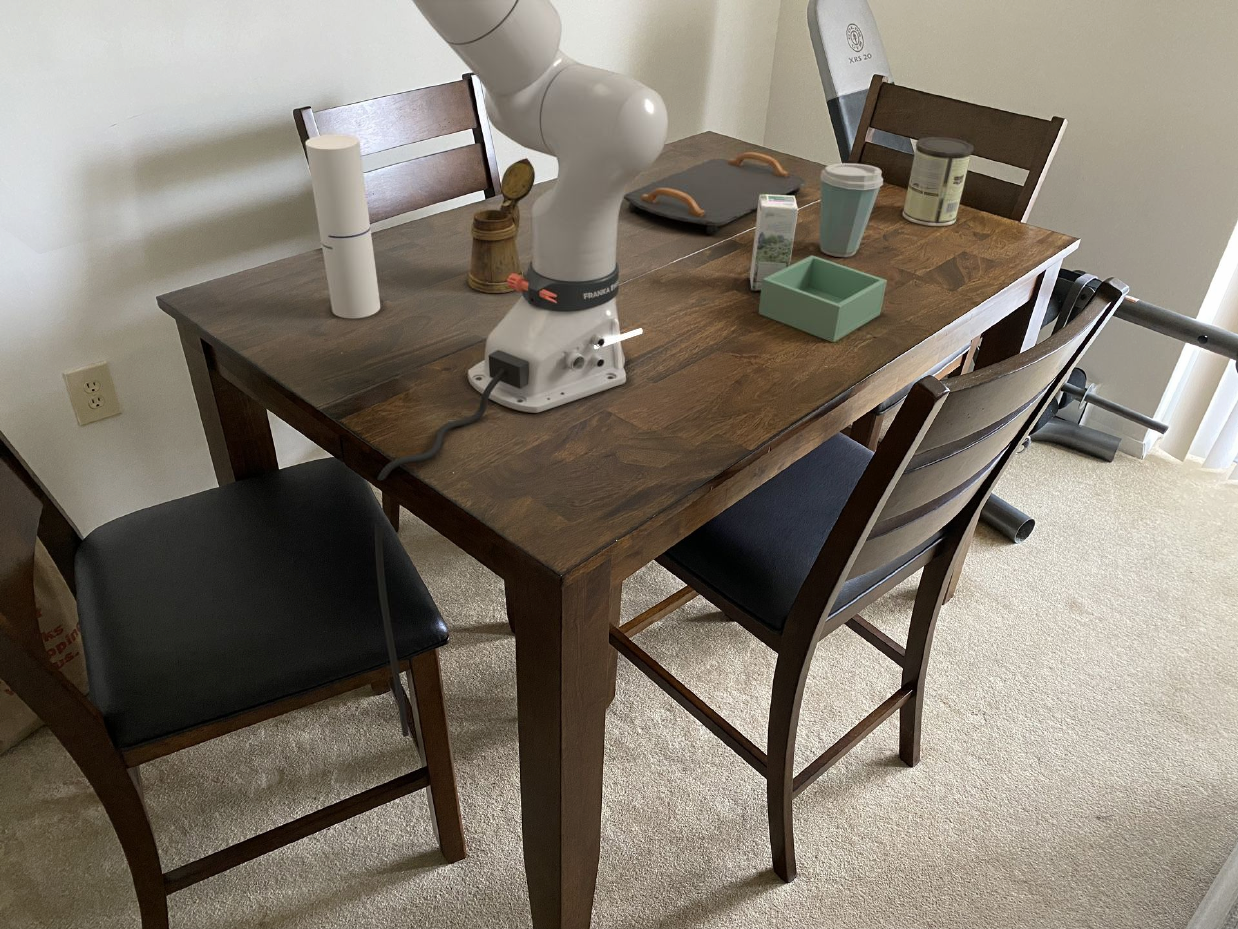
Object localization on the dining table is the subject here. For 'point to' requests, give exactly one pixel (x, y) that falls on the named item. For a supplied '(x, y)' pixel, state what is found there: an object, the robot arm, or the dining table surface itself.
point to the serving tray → (715, 190)
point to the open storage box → (822, 297)
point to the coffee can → (937, 181)
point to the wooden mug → (500, 233)
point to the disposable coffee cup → (846, 206)
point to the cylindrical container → (344, 224)
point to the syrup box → (772, 237)
